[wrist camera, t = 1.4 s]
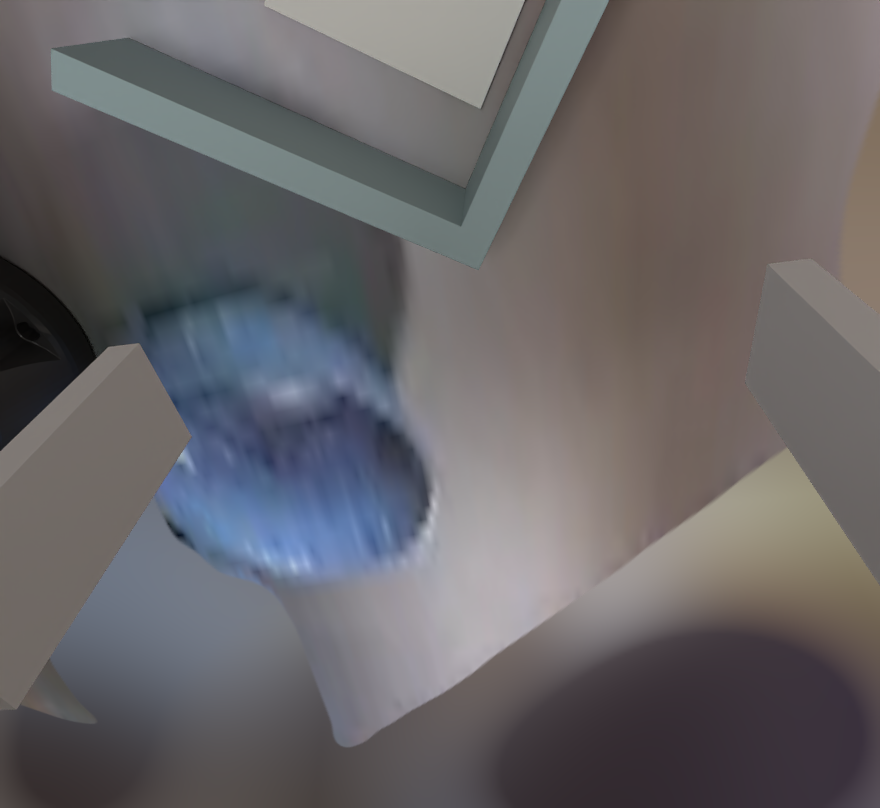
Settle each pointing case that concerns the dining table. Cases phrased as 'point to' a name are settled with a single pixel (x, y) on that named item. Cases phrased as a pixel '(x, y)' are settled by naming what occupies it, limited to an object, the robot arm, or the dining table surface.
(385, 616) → the dining table surface
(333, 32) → the pad
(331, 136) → the teal angle bracket
